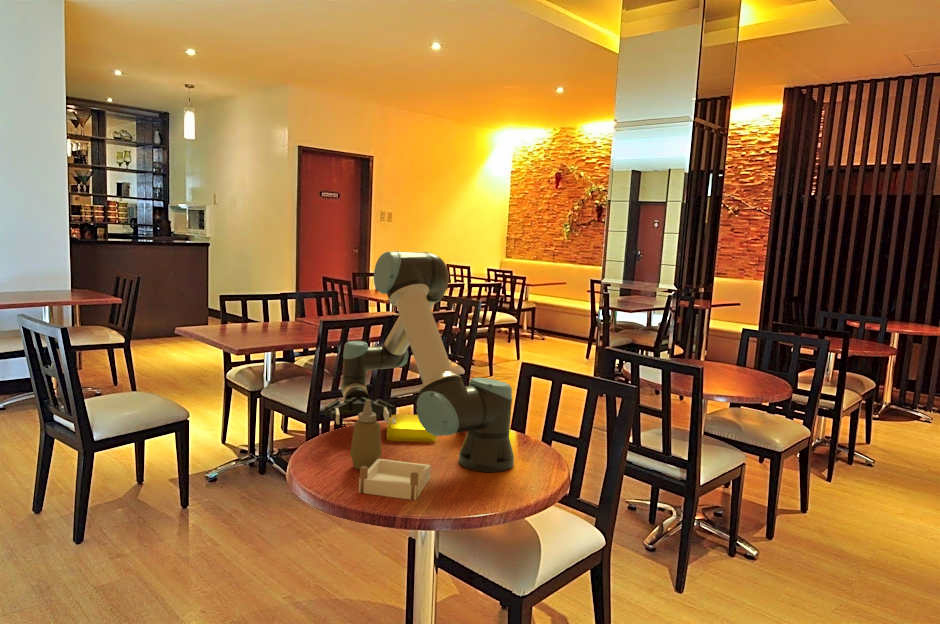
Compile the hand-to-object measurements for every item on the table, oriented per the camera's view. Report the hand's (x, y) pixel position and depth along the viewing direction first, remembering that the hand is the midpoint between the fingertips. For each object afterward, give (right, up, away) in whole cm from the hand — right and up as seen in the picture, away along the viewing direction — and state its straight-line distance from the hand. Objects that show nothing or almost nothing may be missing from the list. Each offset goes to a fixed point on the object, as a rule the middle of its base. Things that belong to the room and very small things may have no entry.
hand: (363, 419), depth 177 cm
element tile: (+11, -9, +22) cm, 26 cm away
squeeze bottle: (+2, -11, -8) cm, 14 cm away
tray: (+11, -13, -19) cm, 25 cm away
